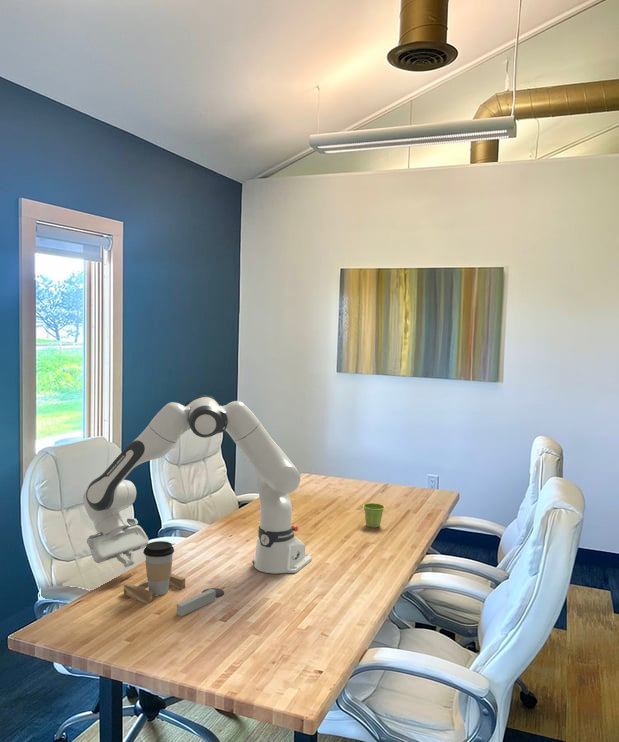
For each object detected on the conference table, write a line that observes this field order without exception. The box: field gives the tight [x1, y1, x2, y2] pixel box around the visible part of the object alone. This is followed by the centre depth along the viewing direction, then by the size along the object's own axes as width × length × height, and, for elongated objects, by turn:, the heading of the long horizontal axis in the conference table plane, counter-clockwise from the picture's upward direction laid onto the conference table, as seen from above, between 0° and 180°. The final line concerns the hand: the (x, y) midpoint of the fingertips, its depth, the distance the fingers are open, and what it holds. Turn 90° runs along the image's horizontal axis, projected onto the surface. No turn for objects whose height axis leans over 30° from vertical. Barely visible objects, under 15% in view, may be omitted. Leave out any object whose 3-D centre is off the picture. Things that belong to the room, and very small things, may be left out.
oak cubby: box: [123, 572, 186, 605], centre depth 196 cm, size 15×11×3 cm
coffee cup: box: [142, 540, 175, 597], centre depth 195 cm, size 9×9×15 cm
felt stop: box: [176, 588, 216, 617], centre depth 186 cm, size 14×2×3 cm, turn 145°
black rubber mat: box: [201, 587, 225, 598], centre depth 196 cm, size 7×7×1 cm
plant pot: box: [362, 502, 386, 528], centre depth 269 cm, size 9×9×9 cm
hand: (130, 565), depth 203 cm, fingers closed
